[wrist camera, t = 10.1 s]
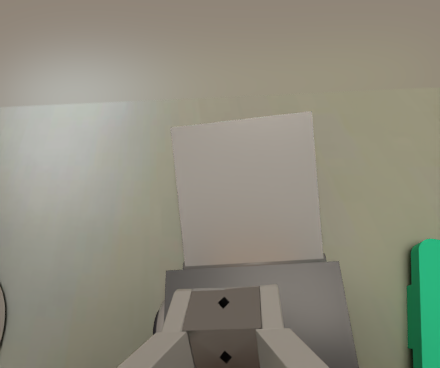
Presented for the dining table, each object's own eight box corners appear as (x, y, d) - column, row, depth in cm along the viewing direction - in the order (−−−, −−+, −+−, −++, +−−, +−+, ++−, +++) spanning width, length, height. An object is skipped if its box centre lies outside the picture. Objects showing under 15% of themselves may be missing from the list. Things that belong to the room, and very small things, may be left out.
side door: (183, 277, 27) (168, 127, 27) (187, 270, 29) (172, 129, 28) (327, 269, 26) (314, 110, 25) (322, 263, 27) (311, 113, 27)
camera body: (171, 384, 25) (138, 405, 19) (174, 282, 29) (147, 271, 22) (340, 383, 24) (365, 405, 17) (322, 274, 27) (338, 260, 21)
